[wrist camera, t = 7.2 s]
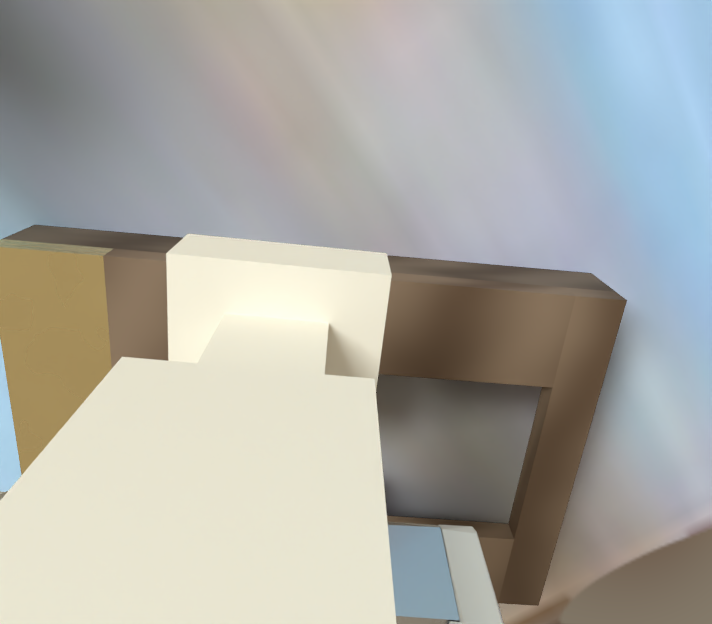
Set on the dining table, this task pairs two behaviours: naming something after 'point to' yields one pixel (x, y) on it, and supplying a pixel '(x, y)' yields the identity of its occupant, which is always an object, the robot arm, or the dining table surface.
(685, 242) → the dining table surface
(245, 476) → the keyed peg
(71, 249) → the keyhole plate
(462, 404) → the dining table surface
